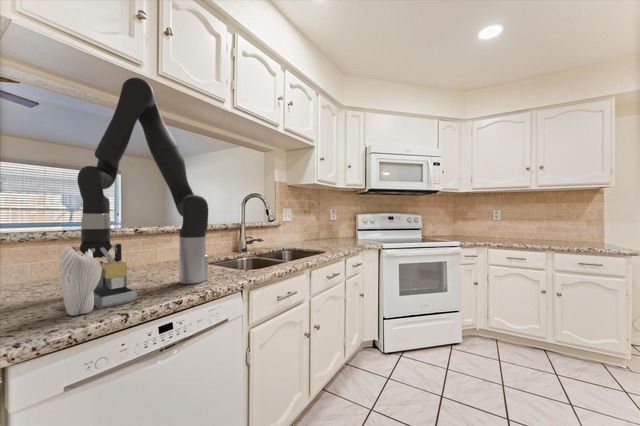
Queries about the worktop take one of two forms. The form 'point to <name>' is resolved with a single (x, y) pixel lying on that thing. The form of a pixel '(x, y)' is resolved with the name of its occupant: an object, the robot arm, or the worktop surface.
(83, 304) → the shell sculpture
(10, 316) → the worktop surface
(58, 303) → the worktop surface
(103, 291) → the grey tray with arch
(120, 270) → the yellow block
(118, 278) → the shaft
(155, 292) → the worktop surface
